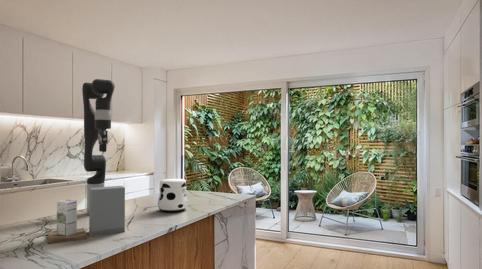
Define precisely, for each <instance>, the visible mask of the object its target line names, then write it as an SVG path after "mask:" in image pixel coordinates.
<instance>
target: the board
mask: <svg viewBox="0 0 482 269" xmlns="http://www.w3.org/2000/svg"><path fill="white" fill-rule="evenodd" d="M87 238H88V236H87V233H86V230H85V228H84V227H82V228H77V233H75V234H72V235H68V236H63V235H57V230H56V231H49V232H48V244H56V243H62V242H63V243H65V242H71V241H77V240H86V239H87Z"/></svg>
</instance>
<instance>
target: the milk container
mask: <svg viewBox="0 0 482 269" xmlns="http://www.w3.org/2000/svg"><path fill="white" fill-rule="evenodd" d="M157 207H158V209H159V210H160V211H161V212H169V213H171V212H180V211H184V210H186V208H187V207H188V197H187V181H186V179H185V178H165V179H160V180H159V196H158V200H157Z"/></svg>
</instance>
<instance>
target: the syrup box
mask: <svg viewBox="0 0 482 269" xmlns="http://www.w3.org/2000/svg"><path fill="white" fill-rule="evenodd" d="M77 206H78V201H77V199H62V200H58V201H56V231H57V235H63V236H68V235H72V234H75V233H77V229H78V228H77V227H78V226H77V224H78V223H77V222H78V219H77V218H78V217H77V215H78V214H77V213H78V208H77Z"/></svg>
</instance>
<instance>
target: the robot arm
mask: <svg viewBox="0 0 482 269" xmlns="http://www.w3.org/2000/svg"><path fill="white" fill-rule="evenodd" d="M81 91H82V92H81V93H82V101H83V102H82V103H83V132H84V134H83V135H84V136H83V137H84V149H83V150H84V151H83V152H84V154H83V155H84V156H83V166H84V170H85V171H86V172H88V173H89V172H90V173H91V172H96V173H95V174H94V175H93V176H91V177H88V178H87V179H86V215H89V201H90V188H94V187H105V179H106V171H107V170H106V168H107V160H106V157H105V156H104V155H102V154H97V155H96V154H93V151H94V146H95V145H96V142H97V141H98V147H99V148H98V150H99V152H101V153H106V152H107V144H108V136H109V134H108V132H109V131H108V130H109V129H112V112H111V107H112V106H111V103H112V98H113V95H114V91H115V83H114V81H113V80H109V79H100V78H99V79H97V78H96V79H93V80H92V82H84V83H83V84H82V88H81ZM104 95H105V97H104ZM90 100H95V110H94V108H93V106H92V104H91V101H90Z"/></svg>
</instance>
